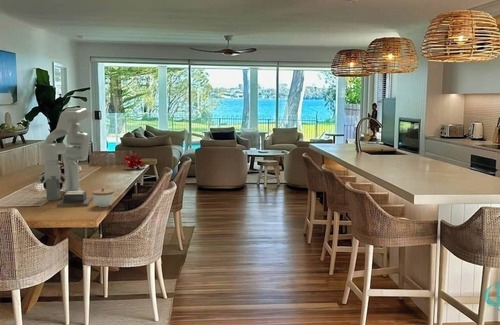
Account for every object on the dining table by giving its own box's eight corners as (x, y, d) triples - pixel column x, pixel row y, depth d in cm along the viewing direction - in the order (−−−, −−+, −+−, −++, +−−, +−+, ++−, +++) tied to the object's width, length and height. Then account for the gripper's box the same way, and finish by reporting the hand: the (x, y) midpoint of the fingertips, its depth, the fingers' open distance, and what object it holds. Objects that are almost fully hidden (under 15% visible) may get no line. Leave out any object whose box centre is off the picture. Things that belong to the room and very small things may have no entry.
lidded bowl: (113, 207, 294) (112, 189, 292) (91, 208, 291) (91, 190, 290) (114, 203, 306) (114, 186, 304) (93, 203, 303) (93, 186, 302)
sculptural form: (150, 157, 464) (131, 149, 468) (141, 152, 440) (121, 145, 445) (143, 176, 462) (124, 168, 467) (132, 172, 438) (112, 164, 443)
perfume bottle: (60, 197, 321) (59, 171, 318) (57, 200, 314) (56, 172, 312) (50, 197, 321) (49, 171, 318) (46, 200, 314) (45, 172, 312)
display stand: (63, 200, 314) (63, 189, 313) (92, 199, 317) (91, 189, 316) (57, 206, 294) (56, 196, 293) (87, 205, 297) (87, 195, 297)
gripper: (67, 162, 319) (68, 187, 321) (39, 162, 316) (40, 188, 318) (64, 163, 312) (65, 189, 314) (36, 163, 309) (37, 190, 311)
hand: (53, 188), depth 316 cm, fingers open, 9 cm apart
